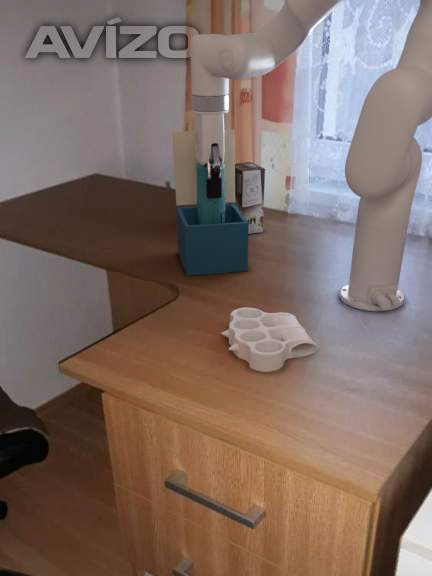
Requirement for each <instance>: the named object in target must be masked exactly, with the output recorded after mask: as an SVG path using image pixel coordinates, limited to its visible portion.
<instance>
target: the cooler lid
mask: <svg viewBox="0 0 432 576" xmlns="http://www.w3.org/2000/svg"><path fill="white" fill-rule="evenodd" d="M171 134H172V152H173V169H174V170H173V171H174V191H175V205H176V206H179V207H180V206H194V205H196V206H197V199H196V198H197V172H196V165H197V164H198V160H197V159H196V157H195V130H187V131H186V130H185V131H184V130H183V131H172V133H171ZM235 135H236V134H235V129H224V141H225V151H224V164H225V183H226V184H225V202H226V203H225V204H229V203H232V202H235V164H236V156H235V155H236V151H235V150H236V149H235V142H236V141H235V138H236V137H235Z"/></svg>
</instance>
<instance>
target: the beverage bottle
mask: <svg viewBox="0 0 432 576" xmlns="http://www.w3.org/2000/svg"><path fill="white" fill-rule="evenodd" d="M211 153H212V152H211ZM209 163H213V161H209ZM212 168H213V167H210V170H211V169H212ZM196 172H197V198H196V199H197V205H196V206H197V215H198V218H197V219H198V223H197V224H198V225H204V224H220V223H226V213H225V205H226V204H227V203H226V202H225V184H226V183H225V164H224V163H223V164H222V165H221V179H222V197H221V198H213V199H208V198H207V193H206V179H208V175H207V164H204V166H202V165H201V164H200V163H199V162H198V164H197V165H196Z"/></svg>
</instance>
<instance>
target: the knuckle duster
mask: <svg viewBox="0 0 432 576" xmlns="http://www.w3.org/2000/svg"><path fill="white" fill-rule="evenodd" d="M228 324H229V325H228V329H226V330H224V331H222V332H220V333H219V334H220V335H222V336H224V337H226V338H227V339H228V344H229V345H230V346H229V348H228V349H227V350H228V351H231V352H232V353H233V354H234V355H235V356H236V357H237V358H239V359H240V360H243V361H245V362H247V363H248V365H249V368H250V369H251V370H253V371H256V372H261V373H273V372H276V371H279V370H280V369H282V368H283V366H284V365H285V362H286V361H288V360H290V359H291V360H292V359H299V358H303V357H308V356H310V355H312V354H314V353H315V352H316V351H317V343H316V342H315V341H313V340H312V338H311V337H310V336H309V334H308V333H307V332H306V331H307V330H306V329H305V328H304V327H303V326H302V325H301V323H300V322H299V321H298V320H297V316H296V315H294V314H292V313H289V312H281V311H279V312H267V311H263V310H260V309H259V308H255V307H239V308H236V309H234V310H232V311H230V314H229V323H228Z"/></svg>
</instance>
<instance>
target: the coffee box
mask: <svg viewBox="0 0 432 576" xmlns="http://www.w3.org/2000/svg"><path fill="white" fill-rule="evenodd" d="M265 178H266V168H264V167H262V166H260V165H258V164H256V163H254V162H251V161H243V162H237V163H235V202H232V203H228V204H235V205H236V207H237V208H238V209H239V211H240V212H241V213H242V215H243V216H244V217H245V219H246V220H247V221H248V223H249V235H250V234H257V233H258V234H261V233H263V232H264V214H265V213H264V209H265V208H264V207H265V182H266V181H265V180H266V179H265Z"/></svg>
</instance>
